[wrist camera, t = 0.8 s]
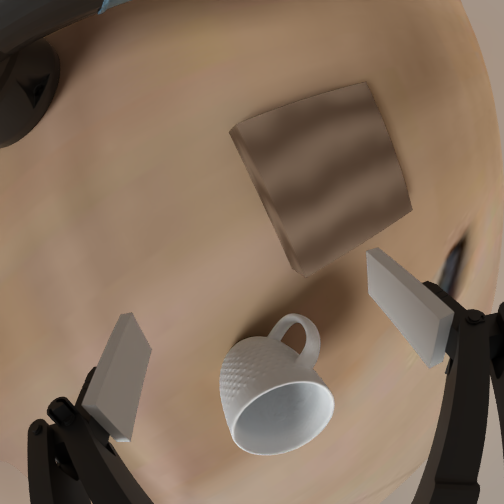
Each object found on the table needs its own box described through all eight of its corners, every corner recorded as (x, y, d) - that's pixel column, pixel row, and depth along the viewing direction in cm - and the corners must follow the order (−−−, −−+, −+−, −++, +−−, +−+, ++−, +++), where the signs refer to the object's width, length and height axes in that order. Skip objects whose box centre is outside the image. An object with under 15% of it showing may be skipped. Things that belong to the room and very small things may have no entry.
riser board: (228, 132, 30) (236, 124, 26) (349, 89, 33) (365, 81, 29) (292, 268, 36) (306, 277, 32) (393, 207, 38) (412, 210, 34)
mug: (248, 281, 34) (289, 330, 22) (318, 311, 38) (374, 359, 26) (197, 377, 35) (212, 449, 23) (266, 396, 39) (299, 458, 26)
